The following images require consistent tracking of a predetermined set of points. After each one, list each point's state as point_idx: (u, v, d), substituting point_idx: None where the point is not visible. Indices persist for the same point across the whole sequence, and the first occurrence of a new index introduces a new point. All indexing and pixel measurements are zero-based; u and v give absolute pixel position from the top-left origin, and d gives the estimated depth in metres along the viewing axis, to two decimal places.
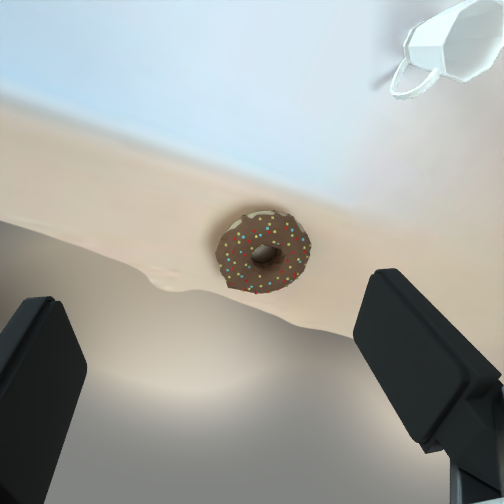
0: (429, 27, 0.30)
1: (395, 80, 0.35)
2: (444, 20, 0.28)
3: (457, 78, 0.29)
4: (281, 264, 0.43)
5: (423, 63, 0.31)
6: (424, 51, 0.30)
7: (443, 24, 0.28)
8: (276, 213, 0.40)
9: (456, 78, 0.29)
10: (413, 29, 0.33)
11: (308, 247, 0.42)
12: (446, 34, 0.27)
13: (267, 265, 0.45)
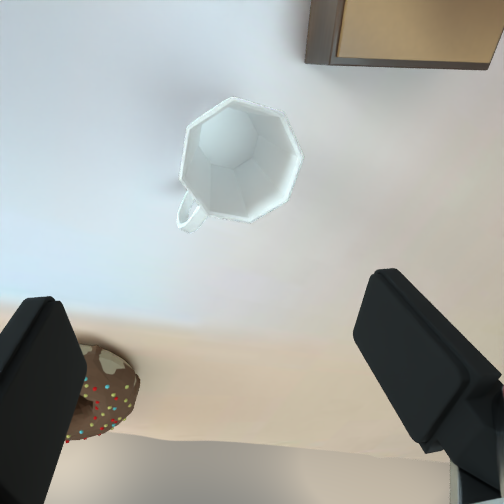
0: None
1: None
2: None
3: (233, 218, 0.18)
4: (92, 409, 0.32)
5: None
6: None
7: None
8: None
9: (231, 219, 0.18)
10: None
11: (123, 390, 0.31)
12: (182, 163, 0.16)
13: (82, 404, 0.33)
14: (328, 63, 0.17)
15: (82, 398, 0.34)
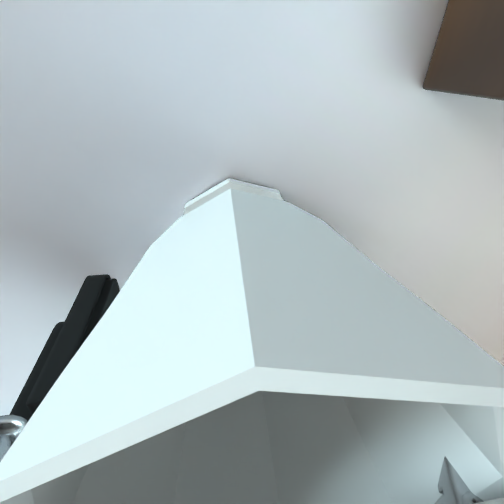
0: None
1: None
2: None
3: None
4: None
5: None
6: None
7: None
8: None
9: None
10: (189, 208, 0.10)
11: None
12: None
13: None
14: None
15: None
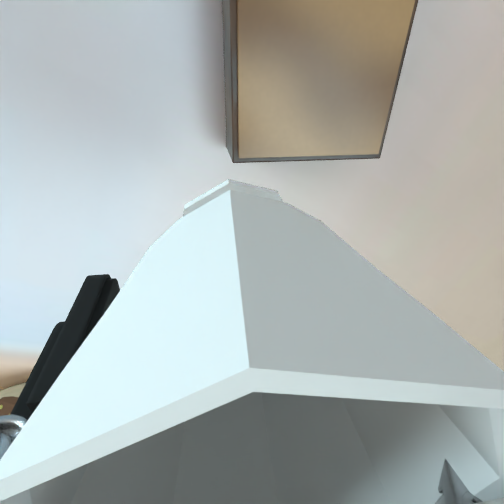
0: None
1: None
2: None
3: None
4: None
5: None
6: None
7: None
8: None
9: None
10: (189, 210, 0.10)
11: None
12: None
13: None
14: (232, 161, 0.20)
15: None
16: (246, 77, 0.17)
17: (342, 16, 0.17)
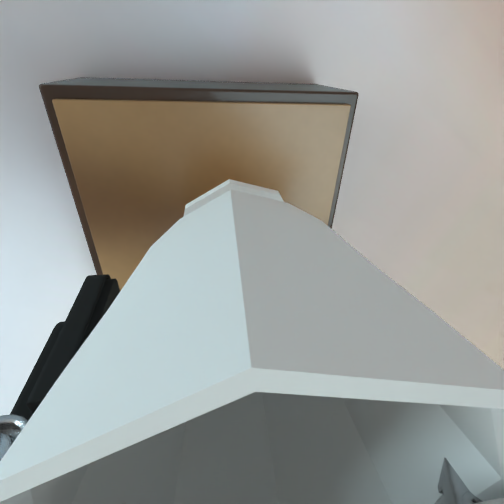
0: None
1: None
2: None
3: None
4: None
5: None
6: None
7: None
8: None
9: None
10: (190, 209, 0.10)
11: None
12: None
13: None
14: None
15: None
16: (113, 266, 0.13)
17: None
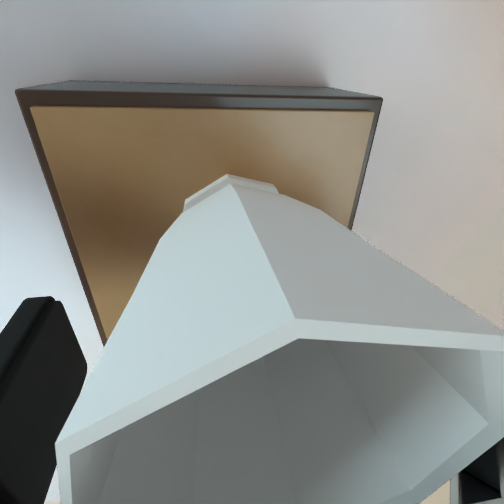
0: None
1: None
2: None
3: None
4: None
5: None
6: None
7: None
8: None
9: None
10: (190, 204, 0.10)
11: None
12: None
13: None
14: None
15: None
16: (104, 291, 0.12)
17: None
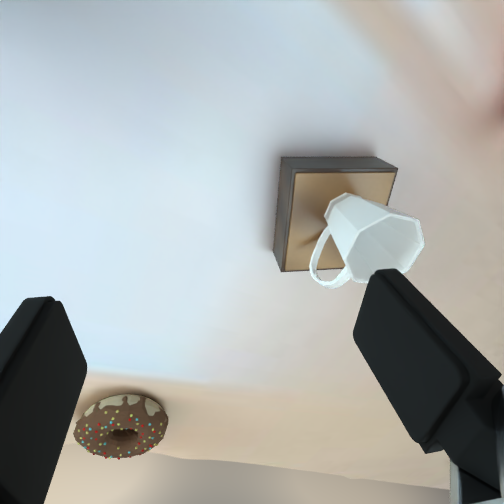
0: (339, 221, 0.26)
1: (317, 251, 0.31)
2: (348, 229, 0.24)
3: None
4: (137, 437, 0.48)
5: None
6: None
7: (347, 233, 0.24)
8: (124, 403, 0.45)
9: None
10: (333, 202, 0.30)
11: (159, 426, 0.47)
12: (348, 250, 0.24)
13: (129, 433, 0.50)
14: None
15: (129, 429, 0.50)
16: (294, 234, 0.31)
17: None
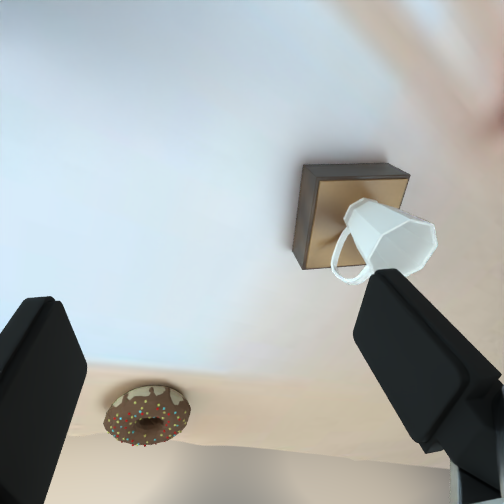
0: (361, 225, 0.29)
1: (337, 250, 0.34)
2: (371, 232, 0.27)
3: None
4: (163, 425, 0.51)
5: (359, 250, 0.31)
6: (357, 245, 0.30)
7: (370, 236, 0.27)
8: (151, 394, 0.48)
9: None
10: (352, 206, 0.33)
11: (183, 414, 0.50)
12: (372, 251, 0.27)
13: (154, 422, 0.53)
14: (302, 269, 0.37)
15: (153, 418, 0.54)
16: (315, 235, 0.34)
17: None
